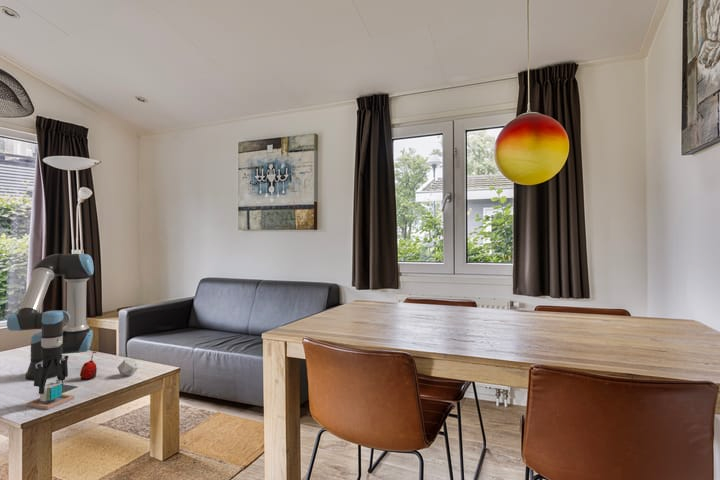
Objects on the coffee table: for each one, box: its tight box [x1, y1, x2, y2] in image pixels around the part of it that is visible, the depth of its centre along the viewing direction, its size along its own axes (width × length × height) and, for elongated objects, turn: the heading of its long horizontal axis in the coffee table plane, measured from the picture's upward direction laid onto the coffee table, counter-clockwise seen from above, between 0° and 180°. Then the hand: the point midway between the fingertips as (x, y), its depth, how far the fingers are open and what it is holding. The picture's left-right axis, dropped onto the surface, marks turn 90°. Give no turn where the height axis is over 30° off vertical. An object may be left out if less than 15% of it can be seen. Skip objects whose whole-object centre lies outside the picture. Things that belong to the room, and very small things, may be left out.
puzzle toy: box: [45, 382, 62, 401], centre depth 175 cm, size 6×6×6 cm
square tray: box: [26, 394, 75, 411], centre depth 175 cm, size 12×12×1 cm
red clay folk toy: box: [79, 349, 98, 381], centre depth 205 cm, size 8×7×15 cm
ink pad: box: [62, 383, 82, 395], centre depth 187 cm, size 12×10×1 cm
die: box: [117, 358, 139, 377], centre depth 211 cm, size 8×9×10 cm
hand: (51, 397), depth 175 cm, fingers closed on puzzle toy, 6 cm apart
